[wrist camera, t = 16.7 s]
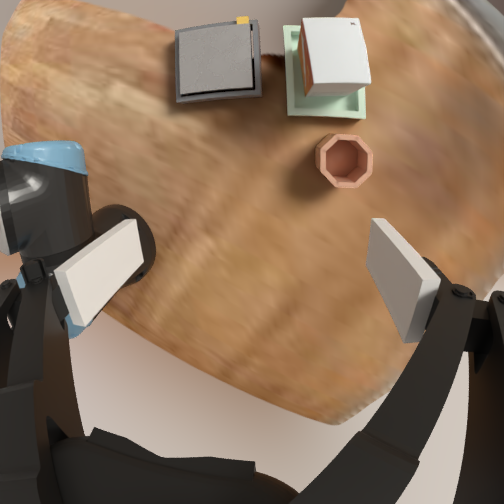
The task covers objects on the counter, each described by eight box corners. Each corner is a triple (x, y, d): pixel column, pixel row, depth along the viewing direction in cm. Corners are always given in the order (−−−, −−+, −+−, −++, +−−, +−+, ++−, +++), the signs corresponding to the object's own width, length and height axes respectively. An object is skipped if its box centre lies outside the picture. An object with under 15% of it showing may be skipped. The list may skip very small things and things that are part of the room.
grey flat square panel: (182, 94, 35) (180, 94, 34) (181, 34, 31) (179, 32, 30) (253, 88, 34) (252, 86, 33) (250, 25, 30) (249, 23, 29)
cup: (315, 179, 41) (320, 186, 36) (315, 132, 38) (320, 133, 33) (360, 180, 40) (371, 188, 35) (361, 135, 37) (373, 136, 32)
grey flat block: (183, 103, 38) (174, 102, 35) (181, 33, 33) (173, 26, 30) (262, 96, 37) (260, 93, 34) (259, 23, 32) (256, 15, 28)
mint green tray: (287, 116, 38) (287, 115, 35) (283, 31, 32) (283, 25, 30) (361, 119, 36) (365, 118, 34) (356, 35, 31) (360, 30, 28)
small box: (296, 48, 33) (300, 16, 21) (338, 47, 32) (360, 16, 20) (304, 98, 36) (312, 84, 24) (347, 97, 35) (373, 84, 23)
